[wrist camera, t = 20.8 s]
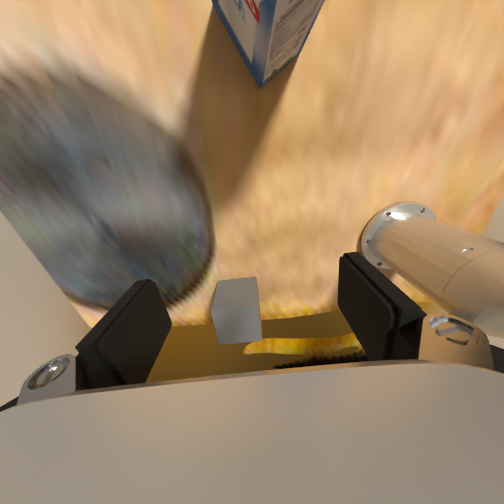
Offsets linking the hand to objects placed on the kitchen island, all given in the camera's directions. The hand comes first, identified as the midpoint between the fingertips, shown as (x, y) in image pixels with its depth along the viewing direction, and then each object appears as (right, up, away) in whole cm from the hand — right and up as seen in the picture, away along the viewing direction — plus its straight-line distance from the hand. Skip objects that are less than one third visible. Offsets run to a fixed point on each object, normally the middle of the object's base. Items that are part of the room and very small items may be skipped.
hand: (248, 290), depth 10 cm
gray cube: (-2, -7, +32) cm, 32 cm away
